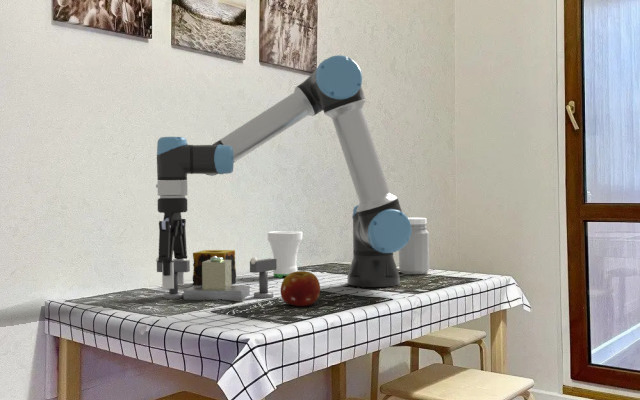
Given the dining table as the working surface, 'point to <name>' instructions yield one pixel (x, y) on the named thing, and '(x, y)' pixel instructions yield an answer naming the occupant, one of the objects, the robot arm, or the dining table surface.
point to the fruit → (300, 288)
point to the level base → (216, 293)
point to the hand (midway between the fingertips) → (173, 285)
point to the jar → (415, 249)
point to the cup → (285, 251)
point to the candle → (207, 255)
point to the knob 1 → (175, 277)
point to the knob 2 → (262, 275)
